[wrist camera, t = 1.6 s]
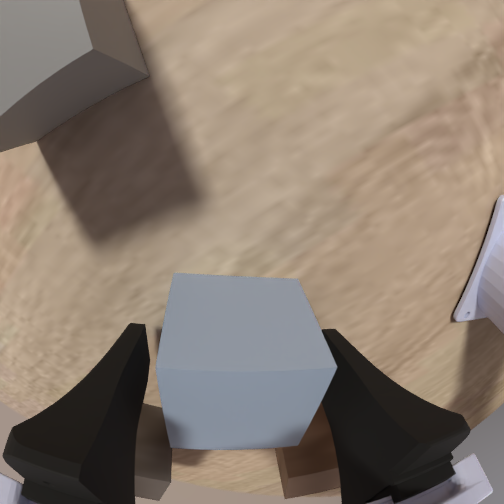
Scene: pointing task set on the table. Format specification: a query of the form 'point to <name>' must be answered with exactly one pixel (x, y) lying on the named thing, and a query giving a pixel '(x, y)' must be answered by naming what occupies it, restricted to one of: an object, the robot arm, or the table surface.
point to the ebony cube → (152, 454)
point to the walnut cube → (310, 460)
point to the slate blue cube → (240, 362)
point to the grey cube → (61, 62)
